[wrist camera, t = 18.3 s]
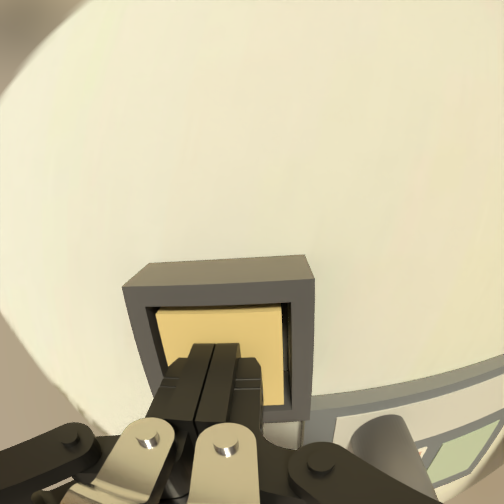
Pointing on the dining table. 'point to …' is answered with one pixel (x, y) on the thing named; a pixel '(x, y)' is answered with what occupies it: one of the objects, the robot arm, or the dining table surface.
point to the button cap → (229, 336)
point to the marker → (392, 452)
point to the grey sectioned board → (423, 416)
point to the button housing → (230, 293)
